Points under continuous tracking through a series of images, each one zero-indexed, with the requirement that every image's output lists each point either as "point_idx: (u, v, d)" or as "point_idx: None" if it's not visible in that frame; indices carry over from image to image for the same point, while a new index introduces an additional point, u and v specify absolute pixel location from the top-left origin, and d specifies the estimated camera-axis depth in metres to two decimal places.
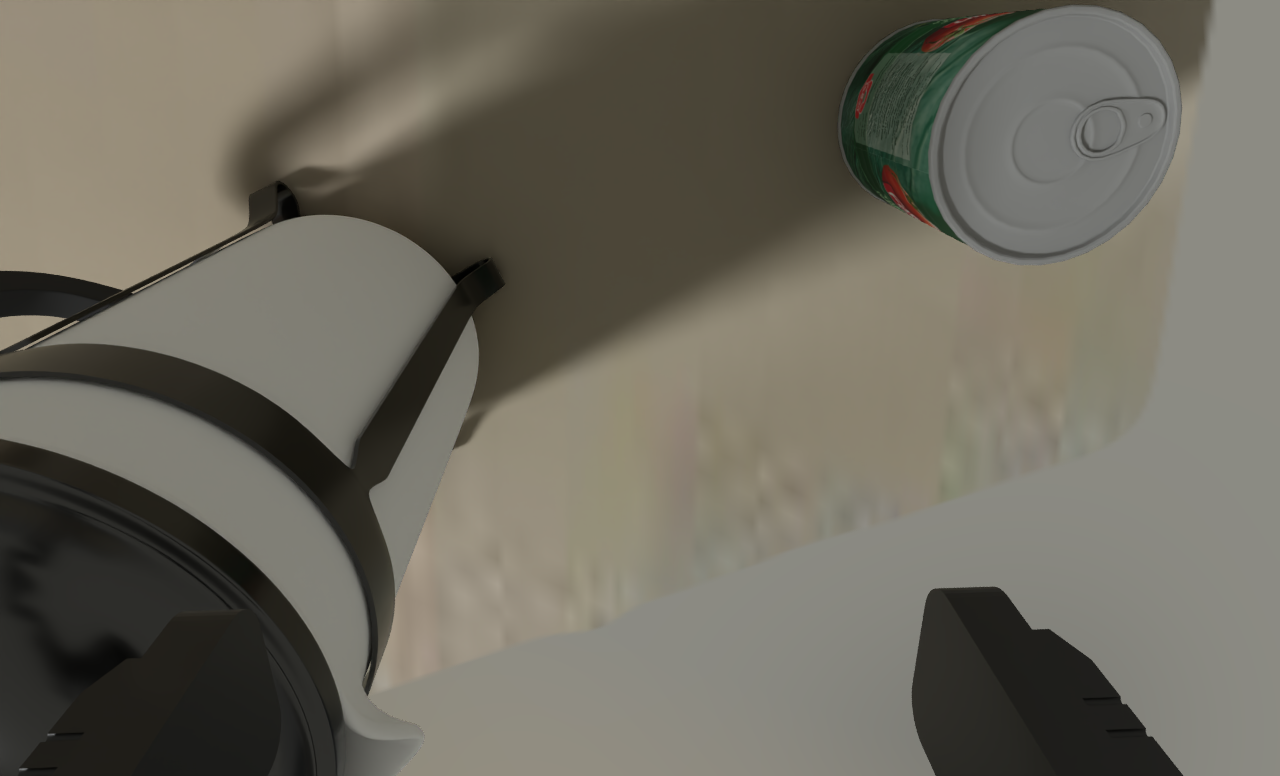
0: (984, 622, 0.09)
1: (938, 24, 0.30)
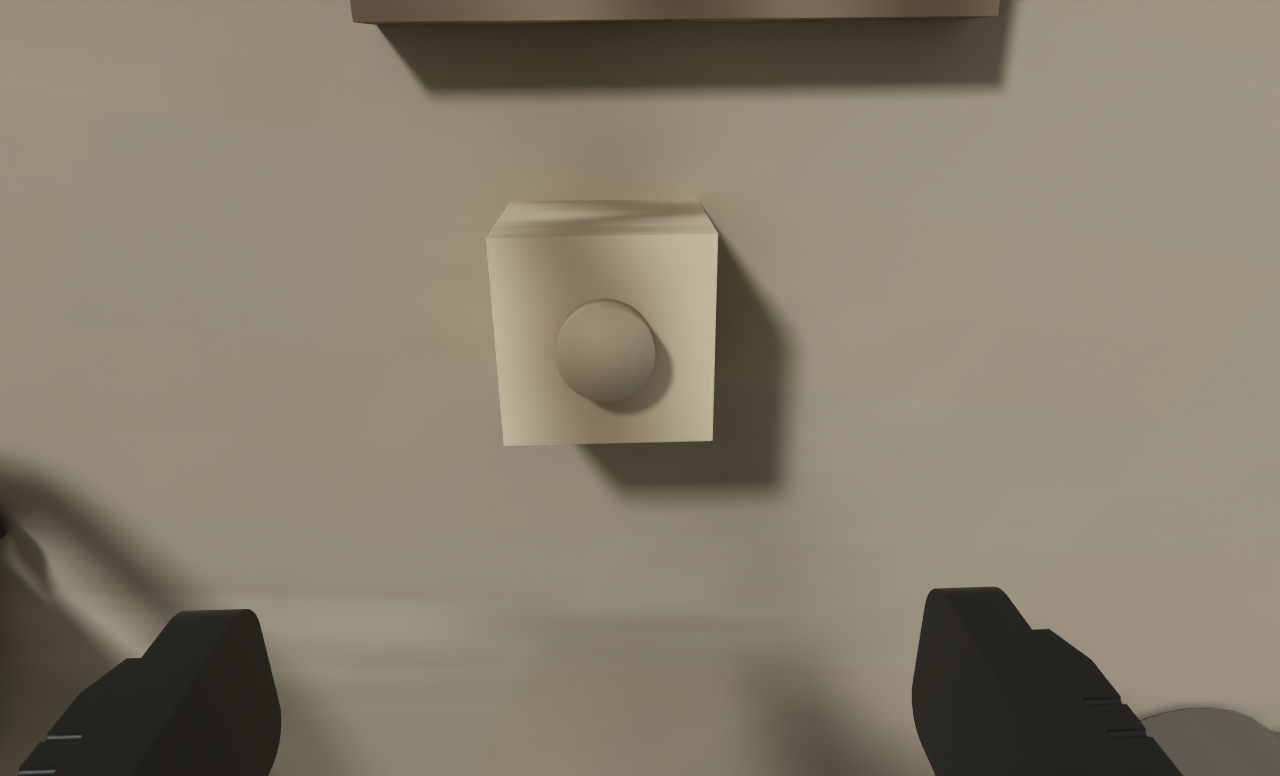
0: (984, 622, 0.09)
1: None
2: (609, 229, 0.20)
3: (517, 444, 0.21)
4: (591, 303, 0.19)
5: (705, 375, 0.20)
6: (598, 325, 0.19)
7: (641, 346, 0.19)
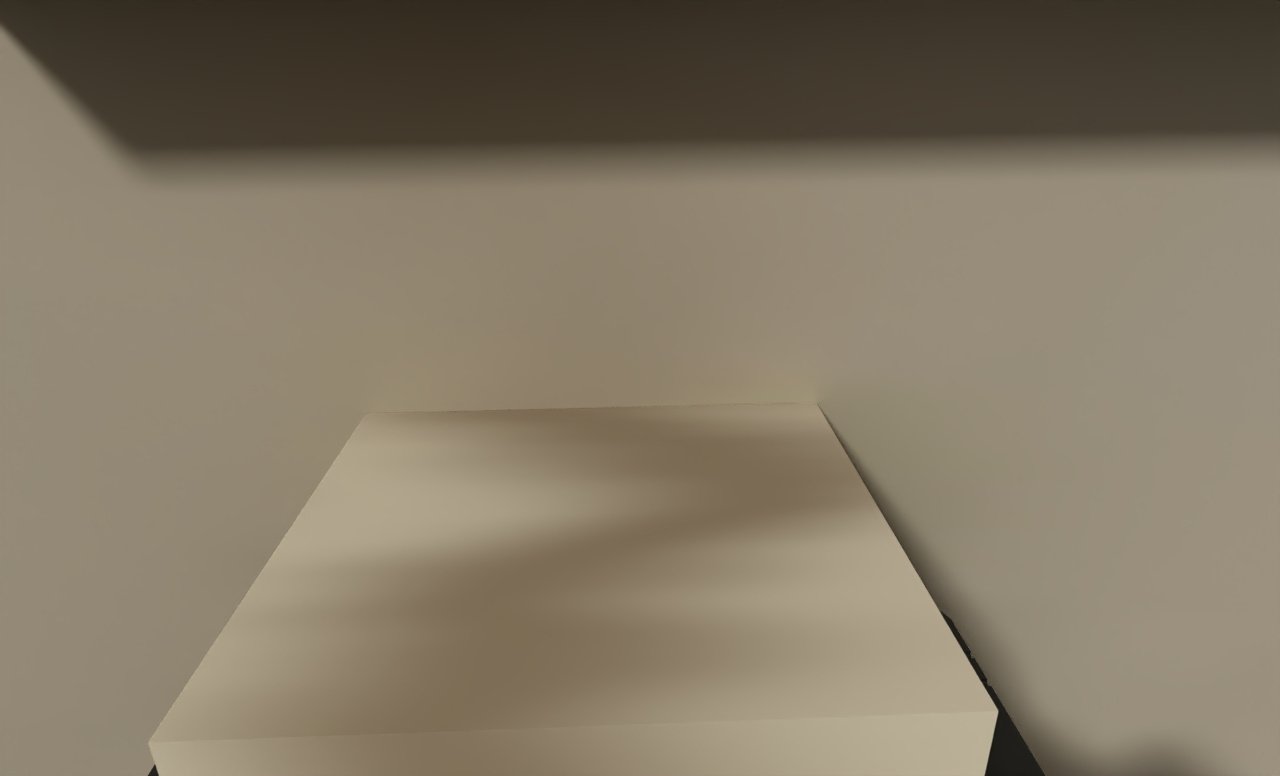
0: None
1: None
2: (605, 651, 0.06)
3: None
4: None
5: None
6: None
7: None
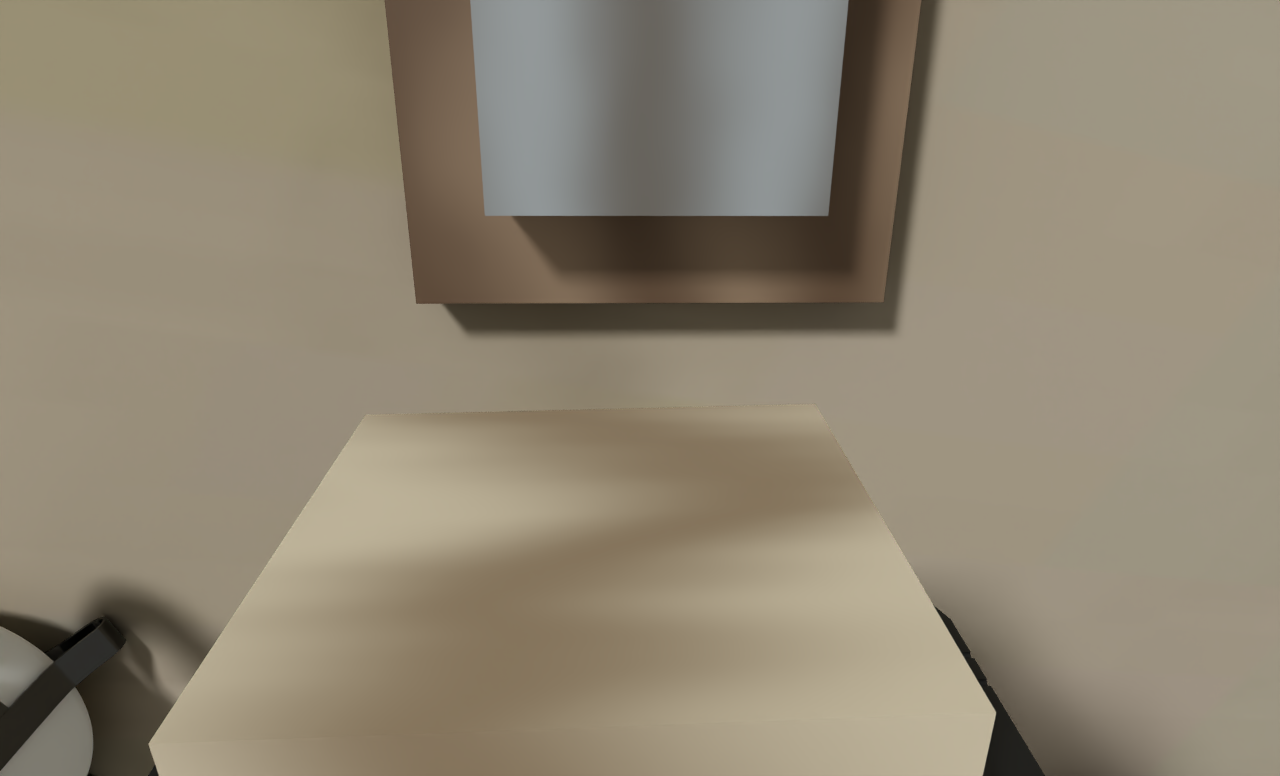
0: None
1: None
2: (604, 652, 0.06)
3: None
4: None
5: None
6: None
7: None
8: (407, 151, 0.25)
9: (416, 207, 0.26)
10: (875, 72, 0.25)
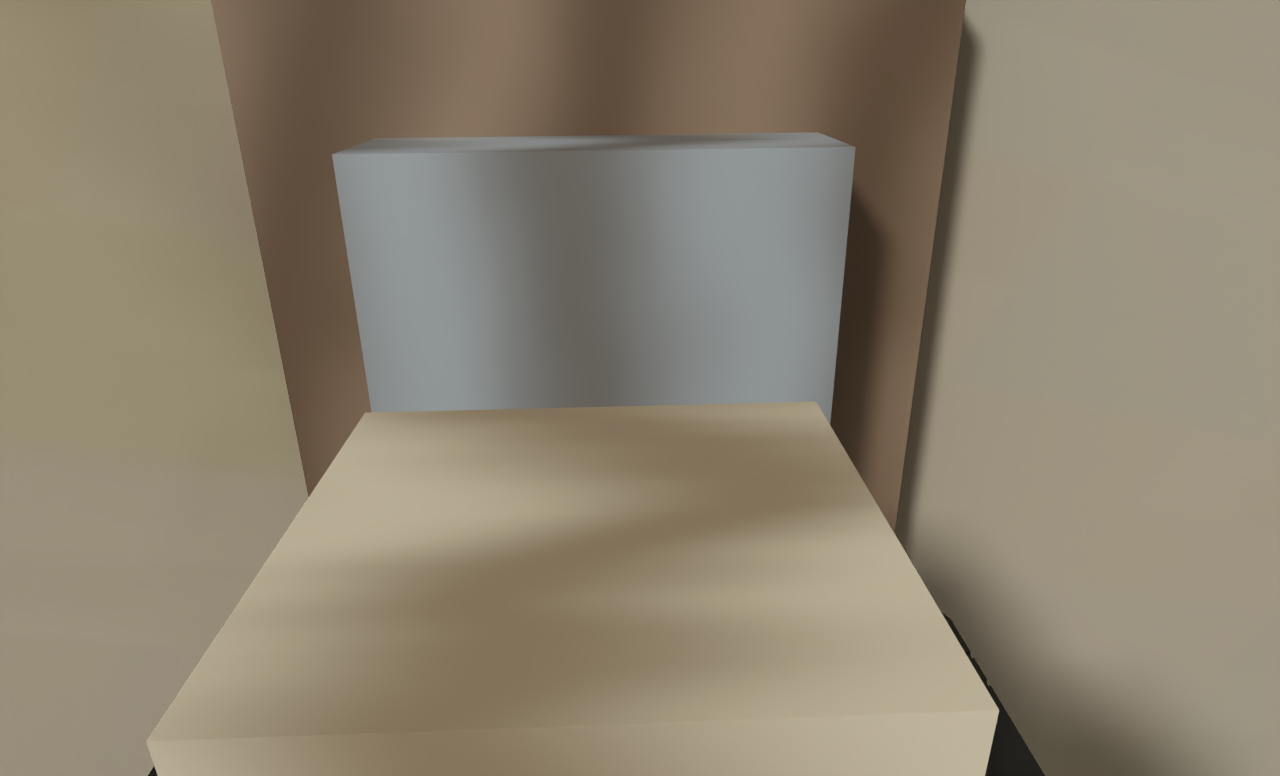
0: None
1: None
2: (605, 650, 0.06)
3: None
4: None
5: None
6: None
7: None
8: (313, 476, 0.21)
9: None
10: (870, 380, 0.21)
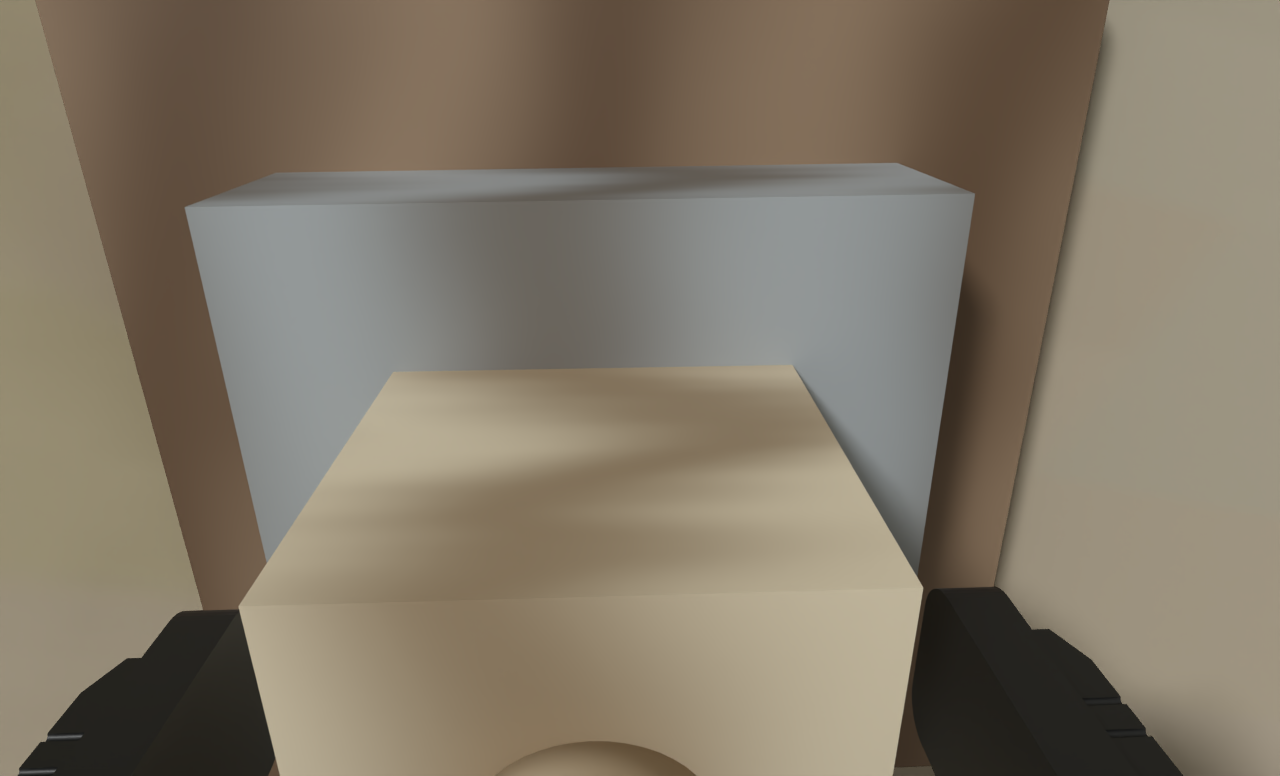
0: (984, 622, 0.09)
1: None
2: (606, 546, 0.07)
3: None
4: (554, 766, 0.07)
5: None
6: None
7: None
8: None
9: None
10: (954, 487, 0.16)
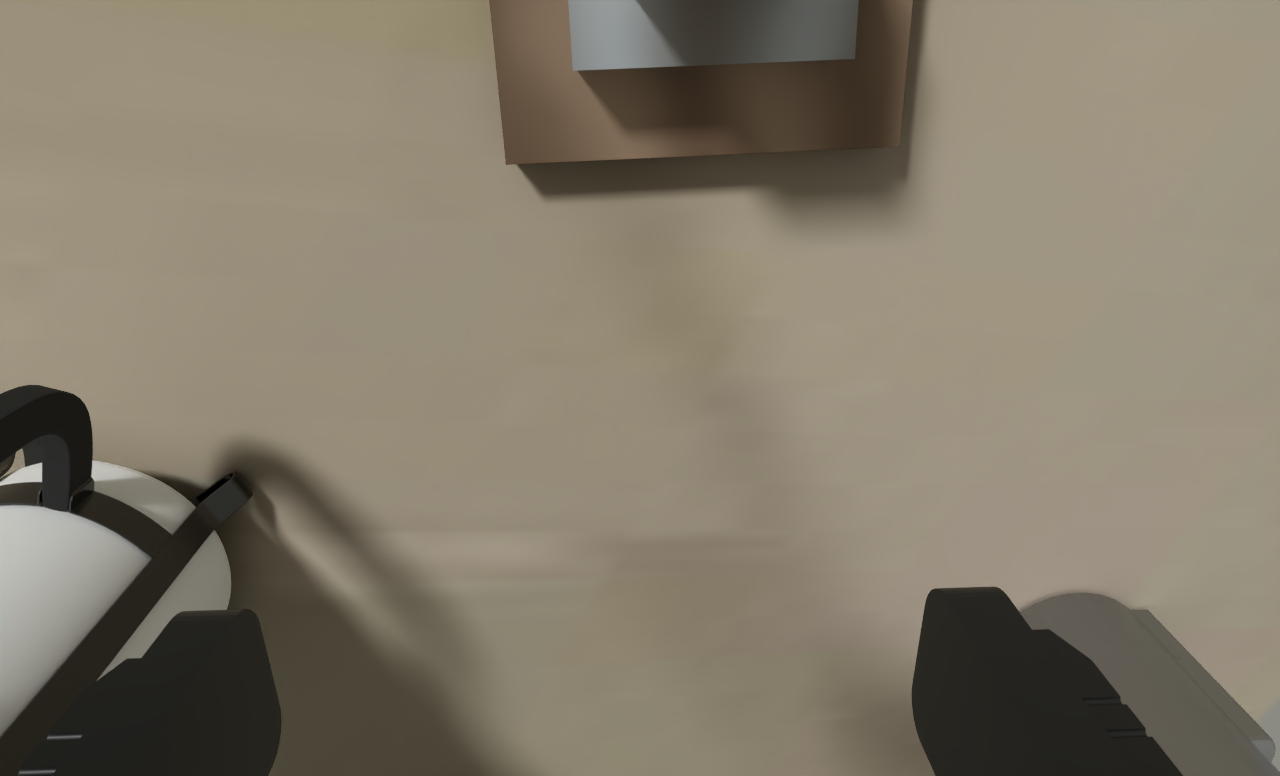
0: (984, 622, 0.09)
1: None
2: None
3: None
4: None
5: None
6: None
7: None
8: (498, 28, 0.30)
9: (506, 78, 0.31)
10: None
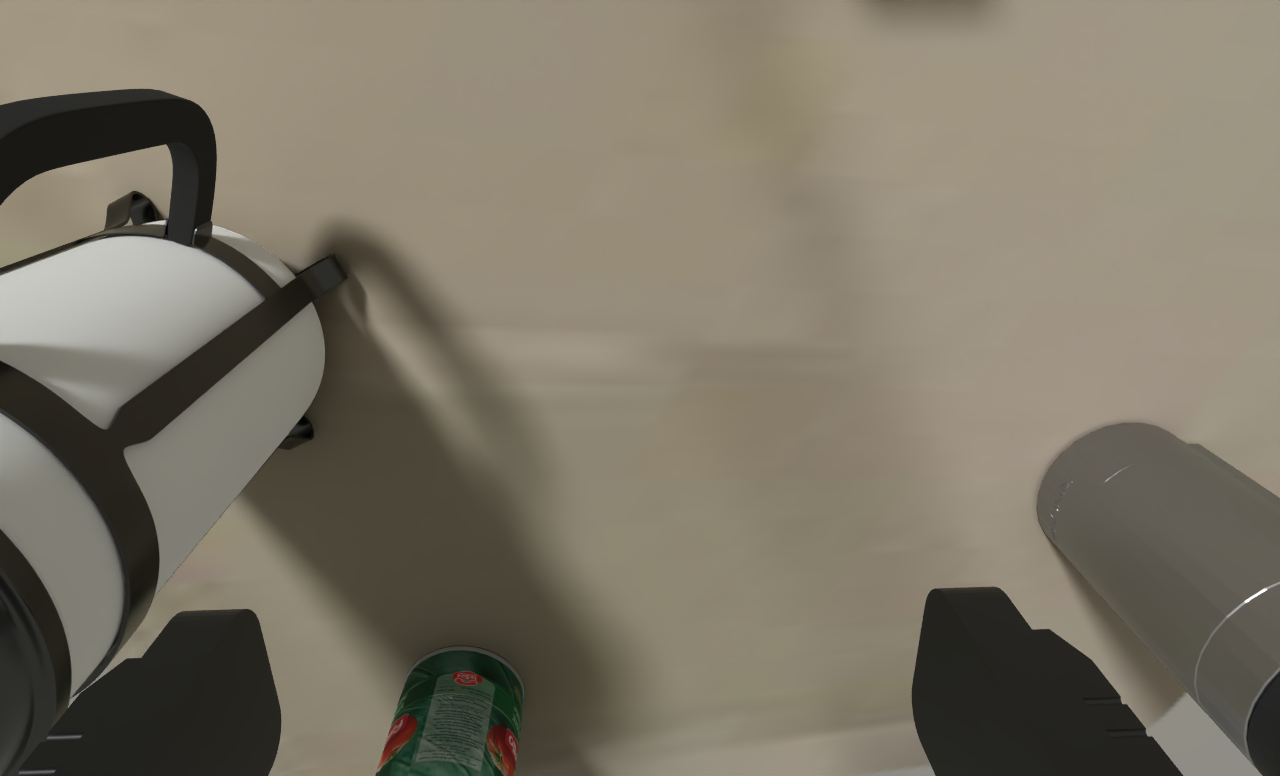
0: (984, 622, 0.09)
1: (512, 717, 0.49)
2: None
3: None
4: None
5: None
6: None
7: None
8: None
9: None
10: None
